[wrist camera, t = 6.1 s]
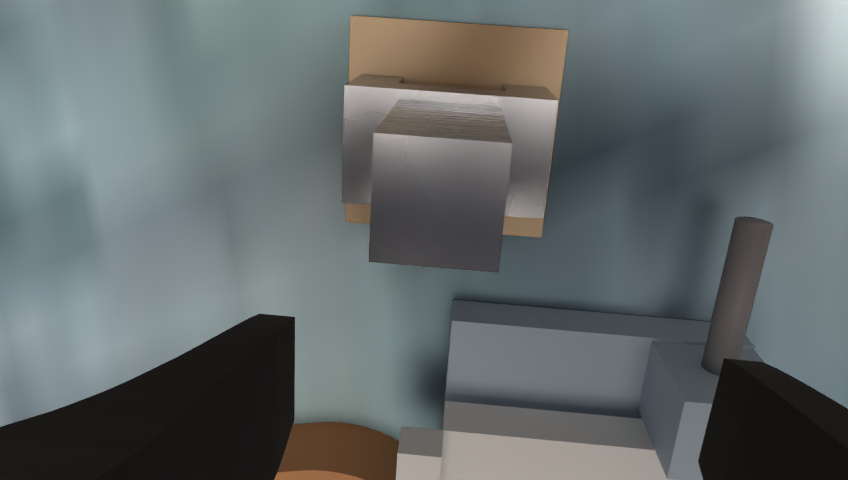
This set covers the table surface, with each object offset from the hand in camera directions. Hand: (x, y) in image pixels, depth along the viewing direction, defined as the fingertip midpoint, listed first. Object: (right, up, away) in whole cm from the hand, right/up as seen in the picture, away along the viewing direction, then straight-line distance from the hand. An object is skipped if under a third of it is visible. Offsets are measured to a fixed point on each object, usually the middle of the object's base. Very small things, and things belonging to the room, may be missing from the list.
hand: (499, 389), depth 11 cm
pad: (-1, +6, +8) cm, 10 cm away
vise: (+3, -1, +11) cm, 11 cm away
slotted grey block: (-1, +6, +8) cm, 10 cm away
